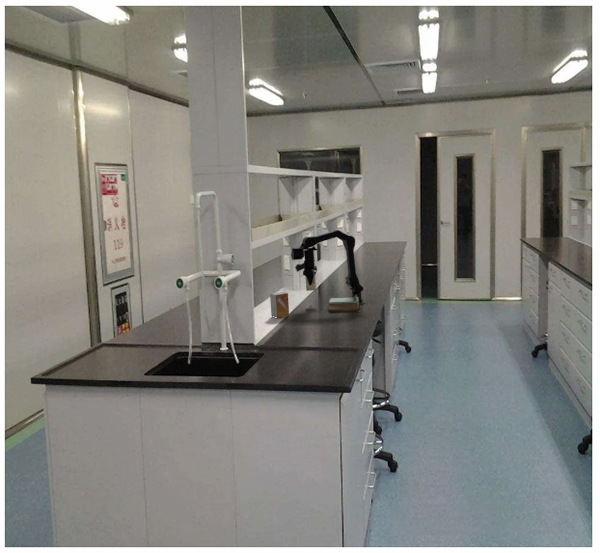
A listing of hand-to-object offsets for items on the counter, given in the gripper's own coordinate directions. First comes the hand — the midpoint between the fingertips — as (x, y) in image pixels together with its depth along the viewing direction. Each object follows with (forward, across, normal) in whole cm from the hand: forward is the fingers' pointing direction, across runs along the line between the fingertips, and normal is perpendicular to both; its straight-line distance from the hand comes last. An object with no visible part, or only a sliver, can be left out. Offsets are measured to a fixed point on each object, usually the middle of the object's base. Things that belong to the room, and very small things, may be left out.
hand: (310, 284), depth 349 cm
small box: (+13, +28, -14) cm, 34 cm away
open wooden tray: (+13, +12, +20) cm, 26 cm away
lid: (+8, +12, +20) cm, 25 cm away
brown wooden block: (+3, 0, 0) cm, 3 cm away
